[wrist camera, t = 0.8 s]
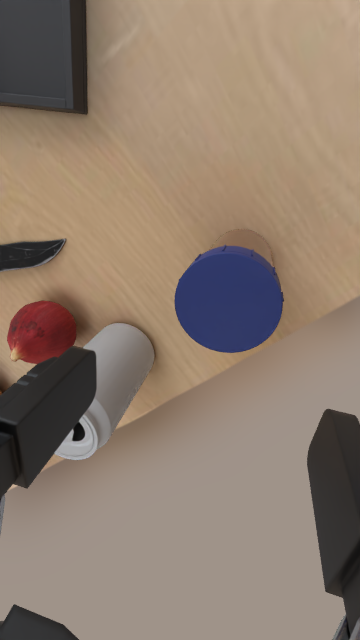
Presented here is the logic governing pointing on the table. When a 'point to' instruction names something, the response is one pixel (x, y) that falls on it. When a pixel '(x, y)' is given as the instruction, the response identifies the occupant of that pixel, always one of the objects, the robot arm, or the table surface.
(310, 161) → the table surface
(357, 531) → the robot arm
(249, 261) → the lid
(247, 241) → the jar
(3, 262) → the knife
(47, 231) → the table surface
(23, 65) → the tray
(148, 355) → the beverage can
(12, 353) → the onion
